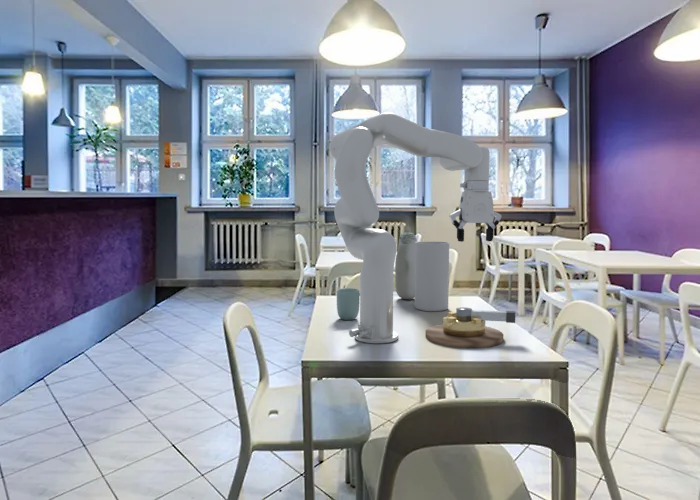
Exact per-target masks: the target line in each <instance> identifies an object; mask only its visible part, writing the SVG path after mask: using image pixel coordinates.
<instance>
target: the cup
mask: <svg viewBox="0 0 700 500" xmlns="http://www.w3.org/2000/svg"><path fill="white" fill-rule="evenodd" d="M336 311H337V312H336V313H337V315H338V317H339V319H341V320H343V321H352V320H355V319H357V318H358V316H359V314H360V288H354V287H353V288H352V287H349V288H348V287H347V288H338V289H337V290H336Z"/></svg>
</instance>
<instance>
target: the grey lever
mask: <svg viewBox="0 0 700 500" xmlns="http://www.w3.org/2000/svg"><path fill="white" fill-rule="evenodd" d="M486 322H505V323H507V324H508V323H509V324H510V323H511V324H516V311H515V310H505V311H503V310H499V311H498V310H480V309H479V310H478V309H472V308H471V307H464V306H463V307H456V311H455V312H454V311H450V312H447V316H444V317H442V324H443V332H445V333H447V334H450V335H454V336H462V337H475V336H481V335H484V334H485V326H486Z"/></svg>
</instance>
